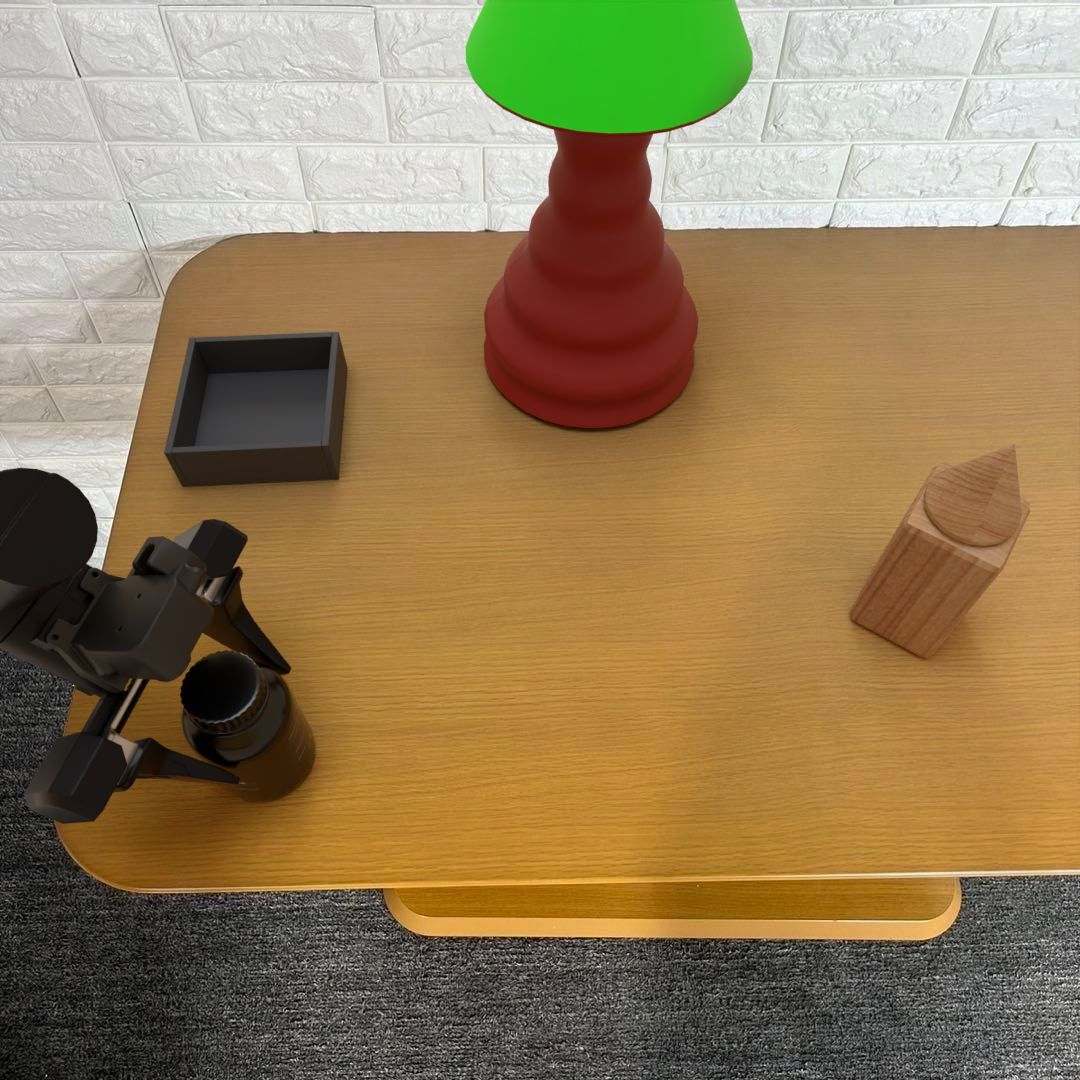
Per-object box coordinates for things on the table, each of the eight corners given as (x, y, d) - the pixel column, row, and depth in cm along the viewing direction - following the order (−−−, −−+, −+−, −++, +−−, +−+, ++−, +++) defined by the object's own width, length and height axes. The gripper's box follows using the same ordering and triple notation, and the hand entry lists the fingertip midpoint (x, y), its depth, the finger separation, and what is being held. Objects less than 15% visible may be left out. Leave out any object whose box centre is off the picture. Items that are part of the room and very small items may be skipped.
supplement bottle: (219, 814, 61) (157, 750, 51) (218, 721, 64) (160, 644, 54) (321, 793, 62) (279, 727, 52) (314, 703, 65) (274, 624, 55)
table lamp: (491, 280, 91) (459, -325, 53) (687, 285, 90) (794, -320, 53) (476, 429, 80) (423, -199, 42) (700, 436, 79) (846, -192, 42)
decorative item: (878, 560, 72) (980, 386, 56) (958, 600, 70) (1089, 433, 54) (844, 619, 69) (942, 455, 52) (927, 664, 67) (1056, 508, 50)
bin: (182, 486, 76) (163, 453, 72) (204, 373, 83) (189, 337, 80) (338, 479, 77) (328, 445, 73) (347, 367, 84) (338, 331, 80)
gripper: (-38, 744, 39) (261, 874, 47) (167, 428, 49) (385, 577, 57) (-90, 762, 47) (174, 871, 54) (96, 486, 57) (297, 610, 64)
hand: (263, 725), depth 57 cm, fingers open, 7 cm apart
